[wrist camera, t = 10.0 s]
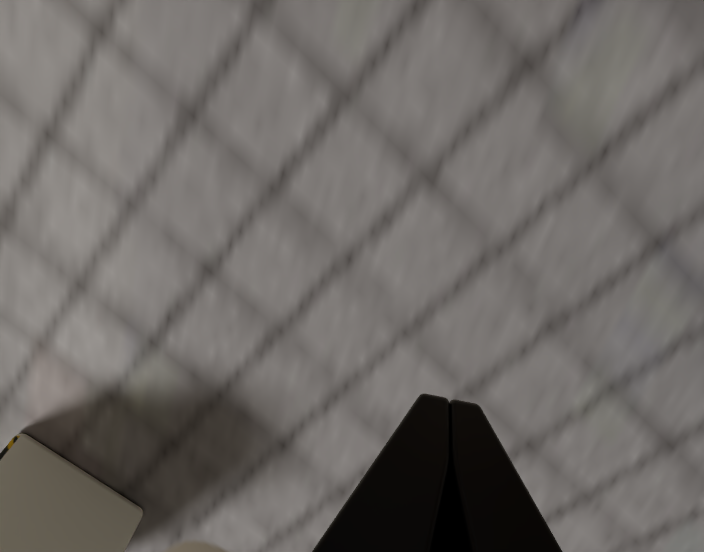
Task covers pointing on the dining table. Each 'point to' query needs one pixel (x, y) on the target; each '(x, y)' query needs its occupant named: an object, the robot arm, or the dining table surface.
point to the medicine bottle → (58, 504)
